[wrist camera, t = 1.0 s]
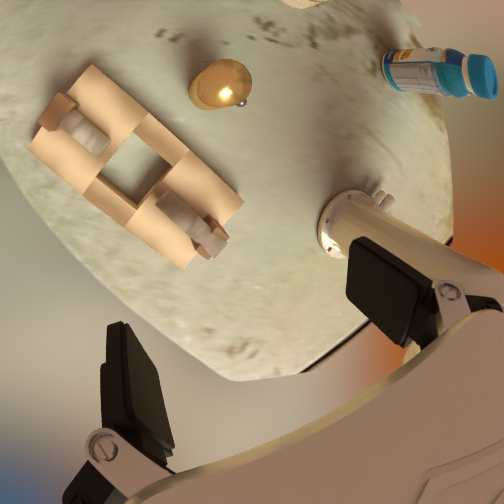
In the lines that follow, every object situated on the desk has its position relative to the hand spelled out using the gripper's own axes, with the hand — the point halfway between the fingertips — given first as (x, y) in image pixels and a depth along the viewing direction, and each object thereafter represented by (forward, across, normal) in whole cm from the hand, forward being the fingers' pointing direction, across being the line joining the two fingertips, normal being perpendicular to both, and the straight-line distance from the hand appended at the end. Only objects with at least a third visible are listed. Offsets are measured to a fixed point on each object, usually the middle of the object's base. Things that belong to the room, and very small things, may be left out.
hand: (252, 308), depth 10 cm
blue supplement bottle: (+26, -40, -13) cm, 50 cm away
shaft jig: (+26, +4, -2) cm, 27 cm away
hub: (+26, -6, -10) cm, 29 cm away
